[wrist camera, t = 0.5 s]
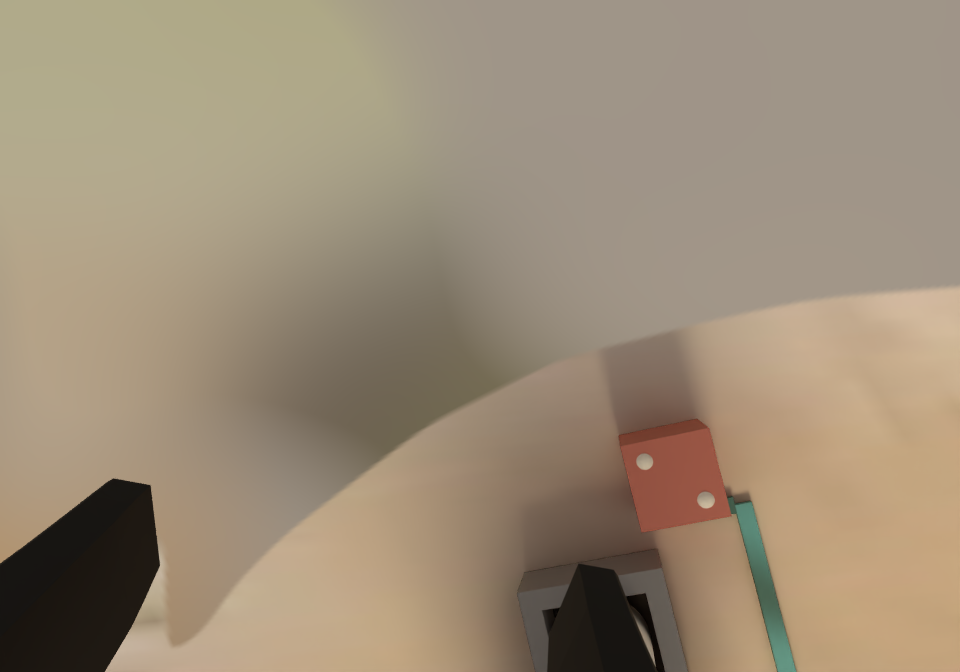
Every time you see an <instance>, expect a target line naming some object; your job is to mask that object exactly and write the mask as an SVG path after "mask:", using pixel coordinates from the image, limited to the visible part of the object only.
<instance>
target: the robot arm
mask: <svg viewBox="0 0 960 672" xmlns="http://www.w3.org/2000/svg"><path fill="white" fill-rule="evenodd" d="M159 566H160V561H159V553H158V544H157V536H156V528H155V520H154V511H153V502H152V495H151V486H150V485H146V484H141V483H135V482H130V481H124V480H119V479H112V480H110V481H108V482H107V483H105V484H104V485H103V486H101V488H99V489H98V490H96V491H95V492H94V493H92V494H91V495H90V496H89V497H87V498H86V499H85V500H84V501H82V502H81V503H80V504H78V505H77V506H76V507H74V508H73V509H72V510H70V511H69V512H68V513H67V514H65V515H64V516H63V517H62V518H60V519H59V520H58V521H57V522H55V523H54V524H52V525H51V526H50V527H49V528H47V529H46V530H45V531H43V532H42V533H41V534H39V535H38V536H37V537H35V538H34V539H33V540H32V541H30V542H29V543H27V544H26V545H25V546H23V547H22V548H21V549H20V550H18V551H17V552H15V553H14V554H13V555H11V556H10V557H8V558H7V559H6V560H4V561H3V562H2V563H0V672H105V670H106V669H107V667H108V665H109V664H110V662H111V660H112V659H113V657H114V655H115V654H116V652H117V650H118V649H119V647H120V645H121V644H122V642H123V640H124V639H125V637H126V635H127V634H128V632H129V630H130V629H131V627H132V625H133V623H134V621H135V619H136V617H137V614H138V612H139V610H140V608H141V606H142V604H143V602H144V600H145V598H146V595H147V593H148V591H149V589H150V586H151V584H152V582H153V580H154V578H155V575H156V573H157V571H158V569H159ZM547 672H658V671H657V669H656V667H655V664H654V662H653V660H652V658H651V656H650V653H649V651H648V649H647V646H646V644H645V642H644V639H643V637H642V635H641V632H640V630H639V628H638V625H637V623H636V620H635V618H634V616H633V613H632V611H631V608H630V606H629V603H628V601H627V598H626V596H625V593H624V590H623V588H622V585H621V583H620V580H619V577H618V575H617V574H616V572H615V571H614V570H612V569H607V568H601V567H596V566H590V565H585V564H579V563H578V566H577V568H576V571H575V573H574V575H573V578H572V580H571V582H570V585H569V587H568V590H567V592H566V594H565V597H564V599H563V602H562V604H561V606H560V609H559V611H558V614H557V616H556V618H555V621H554V623H553V626H552V628H551V630H550V633H549V642H548V663H547Z"/></svg>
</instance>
